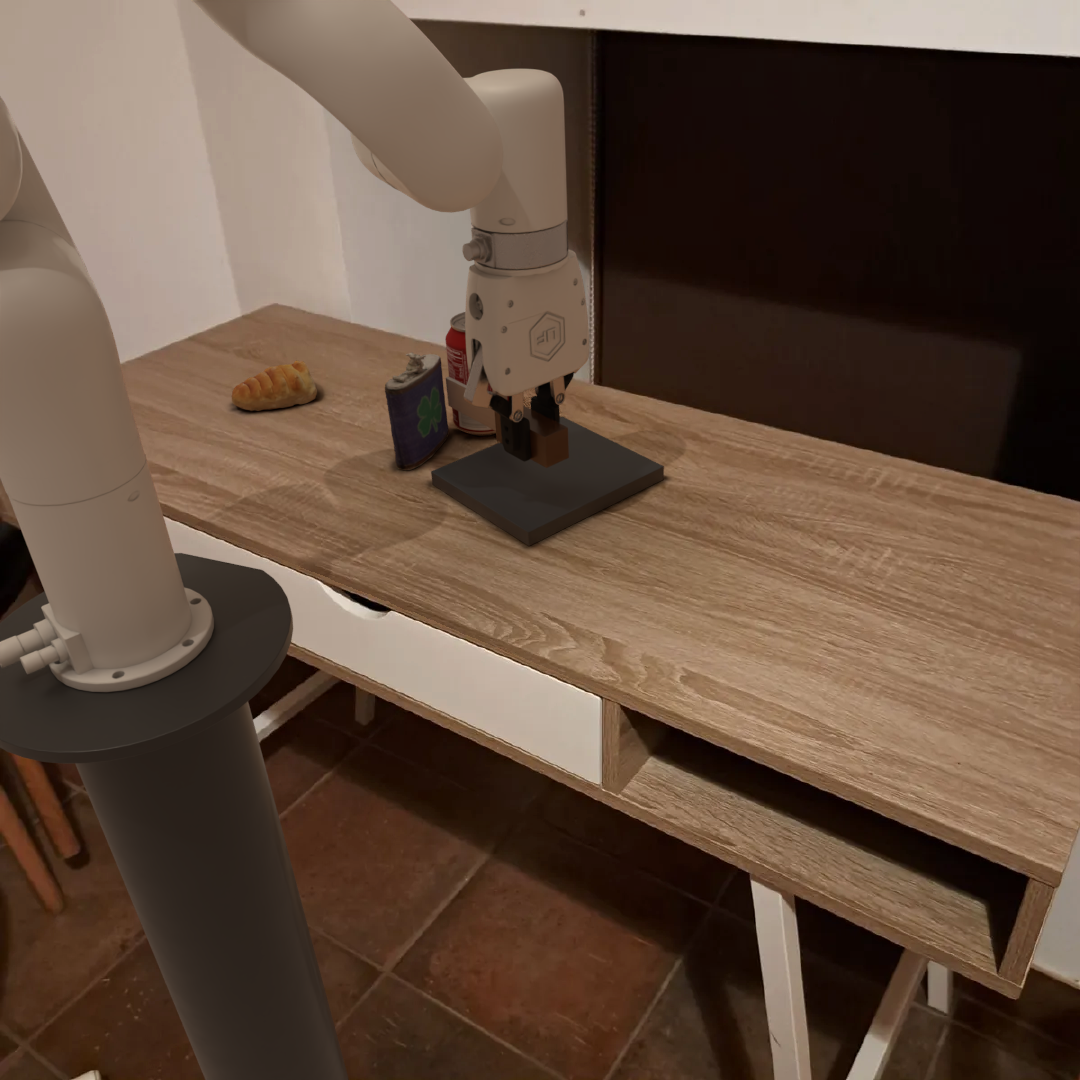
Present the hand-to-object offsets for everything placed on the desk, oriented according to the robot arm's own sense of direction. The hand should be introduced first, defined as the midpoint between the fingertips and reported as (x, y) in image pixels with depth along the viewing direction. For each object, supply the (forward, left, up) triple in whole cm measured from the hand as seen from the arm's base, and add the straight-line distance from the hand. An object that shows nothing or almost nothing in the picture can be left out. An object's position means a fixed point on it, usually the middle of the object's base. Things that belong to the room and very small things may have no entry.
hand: (532, 447), depth 90 cm
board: (+5, +4, -7) cm, 10 cm away
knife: (0, +4, 0) cm, 4 cm away
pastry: (-5, +40, -7) cm, 41 cm away
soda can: (+8, +18, -7) cm, 21 cm away
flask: (0, +18, -7) cm, 19 cm away
